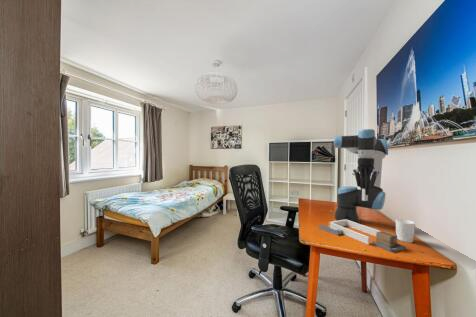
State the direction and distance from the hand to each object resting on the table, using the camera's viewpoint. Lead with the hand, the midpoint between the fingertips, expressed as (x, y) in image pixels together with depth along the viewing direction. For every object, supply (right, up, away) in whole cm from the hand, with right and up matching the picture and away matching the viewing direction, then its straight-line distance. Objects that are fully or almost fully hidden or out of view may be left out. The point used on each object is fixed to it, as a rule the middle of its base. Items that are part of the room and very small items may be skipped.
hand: (364, 200), depth 105 cm
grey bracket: (+4, -20, -11) cm, 24 cm away
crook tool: (-16, -20, +7) cm, 26 cm away
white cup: (+19, -21, -3) cm, 28 cm away
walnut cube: (+4, -20, -10) cm, 23 cm away
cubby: (-2, -20, +4) cm, 20 cm away
